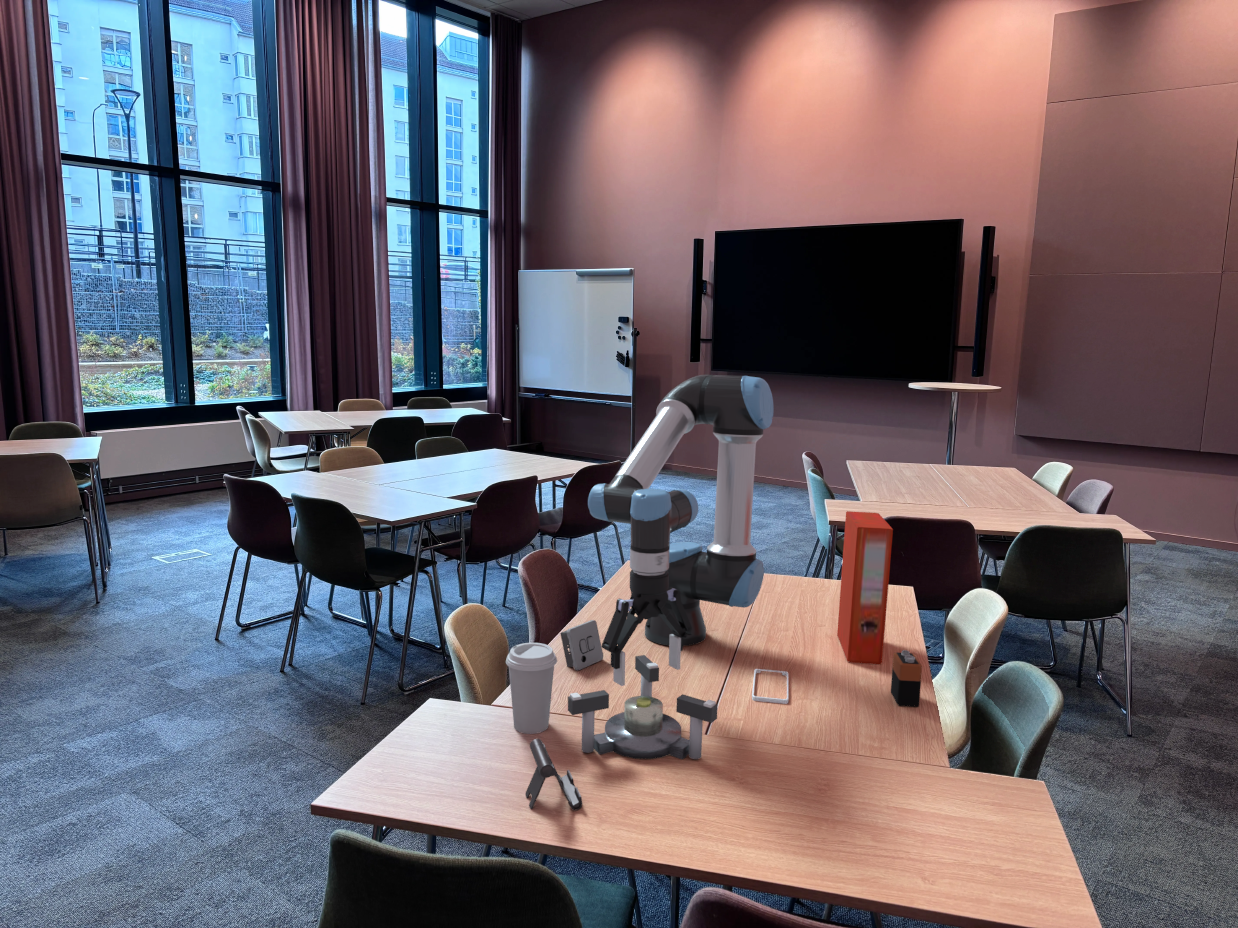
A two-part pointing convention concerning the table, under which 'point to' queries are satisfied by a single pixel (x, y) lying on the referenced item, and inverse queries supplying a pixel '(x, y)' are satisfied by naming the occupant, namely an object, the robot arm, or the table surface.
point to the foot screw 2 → (646, 674)
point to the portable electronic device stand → (547, 770)
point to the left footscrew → (696, 720)
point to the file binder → (864, 587)
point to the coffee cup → (531, 685)
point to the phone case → (766, 699)
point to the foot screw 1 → (588, 713)
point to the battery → (906, 679)
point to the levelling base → (642, 743)
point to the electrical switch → (582, 645)
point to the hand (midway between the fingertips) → (647, 675)
